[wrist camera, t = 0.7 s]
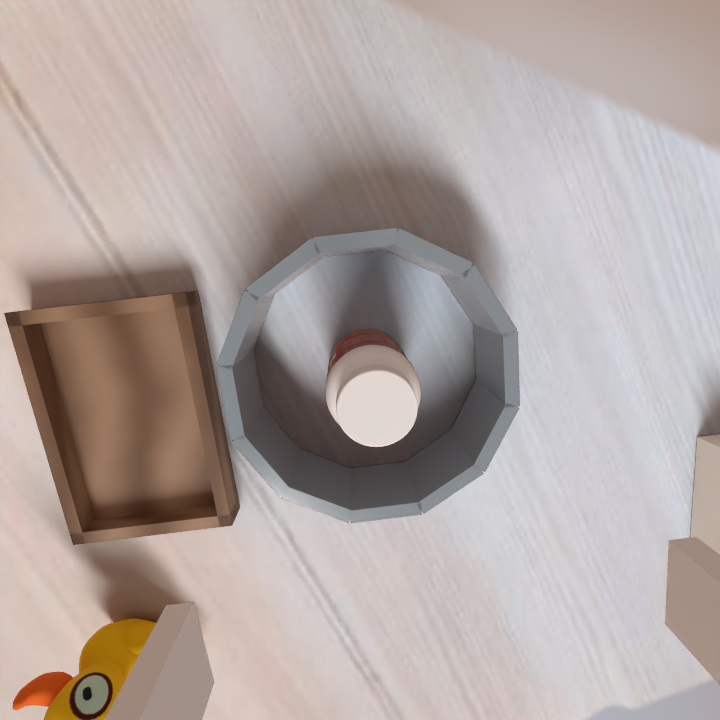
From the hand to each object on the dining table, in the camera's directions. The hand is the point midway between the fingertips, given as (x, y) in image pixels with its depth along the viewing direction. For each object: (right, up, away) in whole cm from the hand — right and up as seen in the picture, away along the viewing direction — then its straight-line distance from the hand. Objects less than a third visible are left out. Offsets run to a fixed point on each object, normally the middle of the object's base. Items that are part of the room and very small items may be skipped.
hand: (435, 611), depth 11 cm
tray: (-20, +2, +23) cm, 31 cm away
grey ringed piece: (-2, +6, +23) cm, 24 cm away
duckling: (-22, -18, +27) cm, 40 cm away
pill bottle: (-2, +7, +23) cm, 24 cm away
